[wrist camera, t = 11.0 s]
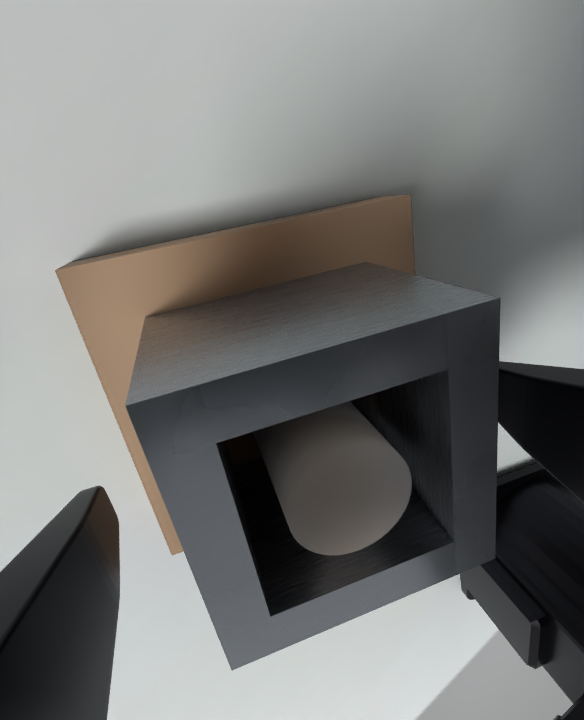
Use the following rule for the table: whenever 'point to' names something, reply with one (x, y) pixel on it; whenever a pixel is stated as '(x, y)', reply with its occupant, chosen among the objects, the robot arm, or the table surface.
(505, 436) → the table surface
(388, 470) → the post stand
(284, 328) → the grey square sleeve
